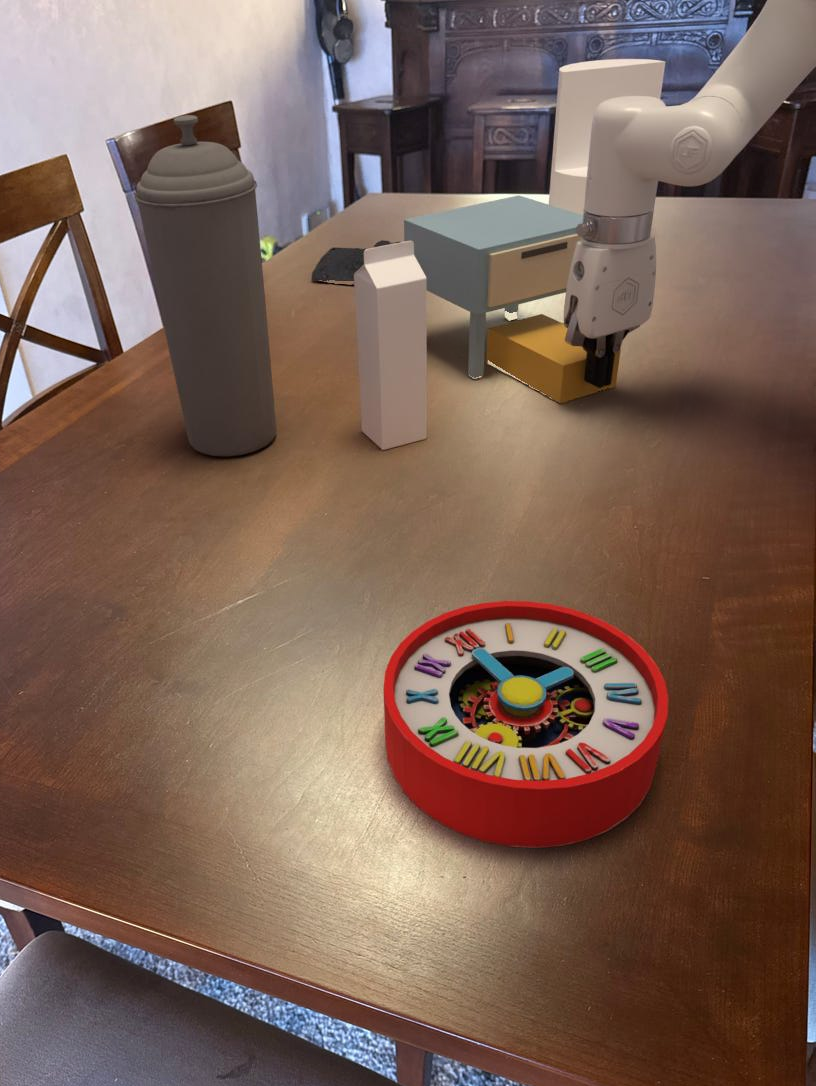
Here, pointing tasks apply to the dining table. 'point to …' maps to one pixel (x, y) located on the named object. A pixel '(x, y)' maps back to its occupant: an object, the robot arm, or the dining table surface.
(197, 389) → the canister
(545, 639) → the toy clock
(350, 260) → the dark slate chunk
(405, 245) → the milk
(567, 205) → the cylinder
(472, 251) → the drawer unit
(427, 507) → the dining table surface
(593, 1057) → the dining table surface
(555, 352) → the yellow rectangular block
